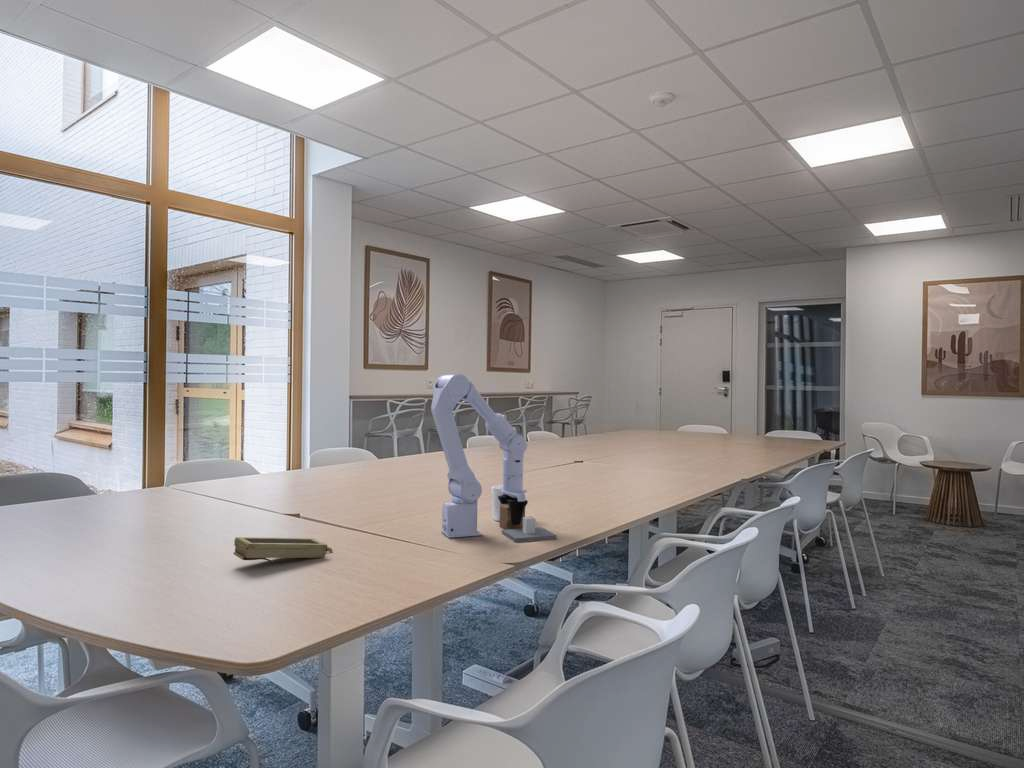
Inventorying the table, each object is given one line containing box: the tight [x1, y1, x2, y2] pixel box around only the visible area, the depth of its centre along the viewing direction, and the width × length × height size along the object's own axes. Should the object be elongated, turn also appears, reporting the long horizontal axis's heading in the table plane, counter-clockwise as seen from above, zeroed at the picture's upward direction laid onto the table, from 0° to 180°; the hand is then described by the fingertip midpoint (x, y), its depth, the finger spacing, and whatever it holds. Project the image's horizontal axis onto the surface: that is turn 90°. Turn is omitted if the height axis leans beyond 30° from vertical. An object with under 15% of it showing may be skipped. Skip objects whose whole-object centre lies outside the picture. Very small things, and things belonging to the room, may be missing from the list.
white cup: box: [491, 484, 503, 522], centre depth 190 cm, size 8×8×10 cm
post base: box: [501, 516, 558, 543], centre depth 169 cm, size 12×10×5 cm
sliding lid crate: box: [499, 504, 526, 530], centre depth 178 cm, size 6×6×7 cm
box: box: [233, 536, 333, 564], centre depth 143 cm, size 8×22×5 cm, turn 134°
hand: (512, 522), depth 178 cm, fingers closed on sliding lid crate, 6 cm apart
